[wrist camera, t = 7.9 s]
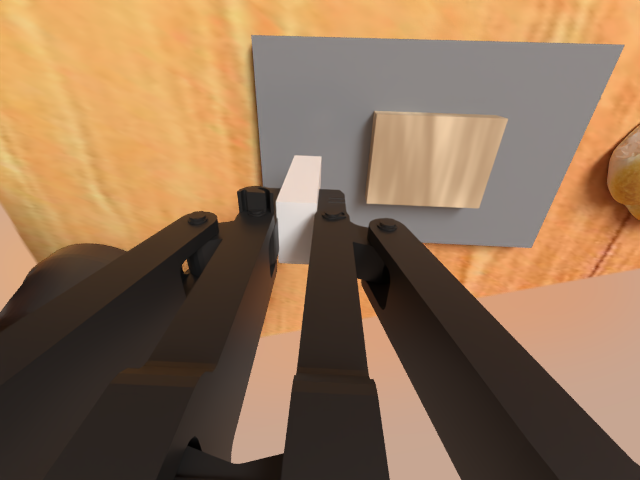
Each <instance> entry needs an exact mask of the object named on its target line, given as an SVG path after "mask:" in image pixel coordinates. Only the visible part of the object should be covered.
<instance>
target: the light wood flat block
mask: <svg viewBox="0 0 640 480" xmlns="http://www.w3.org/2000/svg"><path fill="white" fill-rule="evenodd" d="M507 121H508V119H507V118H504V117H501V116H498V115H480V114H451V113H421V112H392V111H374V117H373V126H372V136H371V145H370V154H369V163H368V172H367V181H366V191H365V198H366V203H367V204H389V205H412V206H434V207H457V208H479V207H480V204H481V201H482V198H483V195H484V191H485V188H486V185H487V182H488V179H489V176H490V173H491V170H492V167H493V164H494V161H495V158H496V155H497V152H498V149H499V146H500V142H501V139H502V136H503V133H504V130H505V127H506V124H507Z"/></svg>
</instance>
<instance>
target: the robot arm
mask: <svg viewBox="0 0 640 480" xmlns="http://www.w3.org/2000/svg"><path fill="white" fill-rule="evenodd" d="M320 186H321V156H300V155H295V156H294V158H293V161H292V163H291V166H290V168H289V170H288V173H287V175H286V178H285V180H284V183H283V185H282V188H267V187H263V186H251V187H245V188H242V189H240V190H239V191H237V195H238V203H239V214H238V215H237V217H236V219H235V220H234V221H230V222H222V223H218V220H217V216H216V215H215V214H214V213H210V212H204V211H199V212H198V211H197V212H193V213H191V214H187V215H185V216H183V217H181V218H180V219H178V220H177V221H175V222H173V223H172V224H170V225H169V226H167V227H166V228H164V229H162V230H161V231H159V232H158V233H156V234H154V235H153V236H151V237H150V238H148V239H147V240H145V241H143V242H142V243H140V244H139V245H137V246H136V247H134V248H132V249H131V250H129V251H128V252H126V251H124V250H121V249H118V248H114V247H110V246H106V245H100V244H75V245H70V246H67V247H64V248H62V249H60V250H58V251H56V252H55V253H53V254H52V255H50V256H49V257H47V258H46V259H44V260H43V261H41V262H40V263H38V264H37V265H36V266H35V267H34V268H32V269H31V271H30V272H29V274H28V275H27V276H26V278H25V280H24V282H23V284H22V285H21V286H20V288H19V289H18V290H17V292H16V293H15V294H14V295H13V297H12V298H11V299H10V300H9V301H8V303H7V304H6V305H5V307H4V308H3V309H2V311H1V312H0V480H390V479H389V471H388V465H387V457H386V450H385V443H384V436H383V429H382V422H381V415H380V408H379V400H378V394H377V389H376V384H375V382H374V380H373V379H370V378H369V374H368V367H367V358H366V350H365V342H364V333H363V326H362V317H361V308H360V300H359V292H358V283H357V278H358V279H362V280H361V283H362V287H363V289H364V291H365V293H366V295H367V297H368V299H369V301H370V303H371V305H372V307H373V308H374V310H375V312H376V314H377V316H378V318H379V320H380V322H381V324H382V326H383V328H384V330H385V332H386V334H387V336H388V338H389V340H390V342H391V344H392V346H393V347H394V349H395V351H396V353H397V355H398V357H399V359H400V361H401V363H402V365H403V367H404V369H405V371H406V373H407V375H408V377H409V379H410V381H411V383H412V385H413V386H414V388H415V390H416V392H417V394H418V396H419V398H420V400H421V402H422V404H423V406H424V408H425V410H426V412H427V413H428V416H429V418H430V419H431V422H432V424H433V425H434V427H435V429H436V431H437V433H438V435H439V437H440V439H441V441H442V443H443V445H444V447H445V449H446V451H447V453H448V455H449V457H450V458H451V461H452V463H453V464H454V466H455V468H456V470H457V472H458V474H459V476H460V478H461V480H640V466H639V465H638V464H636V463H635V462H634V461H633V460H632V459H631V458H630V457H629V456H628V455H627V454H626V453H625V452H624V451H623V450H622V449H621V448H620V447H619V446H618V445H617V444H616V443H615V442H614V441H613V440H612V439H611V438H610V436H609V435H607V433H606V432H605V431H604V430H603V429H602V428H601V427H600V426H599V425H598V424H597V423H596V422H595V421H594V420H593V419H592V418H591V417H590V416H589V415H588V414H587V413H586V412H585V411H584V410H583V409H582V408H581V407H580V406H579V405H578V404H577V403H576V401H574V399H573V398H572V397H571V396H570V395H569V394H568V393H567V392H566V391H565V390H564V389H563V388H562V387H561V386H560V385H559V384H558V383H557V382H556V381H555V380H554V379H553V378H552V377H551V376H550V375H549V374H548V373H547V372H546V371H545V369H543V367H542V366H541V365H540V364H539V363H538V362H537V361H536V360H535V359H534V358H533V357H532V356H531V355H530V354H529V353H528V352H527V351H526V350H525V349H524V348H523V347H522V346H521V345H520V344H519V343H518V342H517V341H516V340H515V339H514V338H513V337H512V336H511V334H510V333H508V331H507V330H506V329H505V328H504V327H503V326H502V325H501V324H500V323H499V322H498V321H497V320H496V319H495V318H494V317H493V316H492V315H491V314H490V313H489V312H488V311H487V310H486V309H485V308H484V307H483V306H482V305H481V304H480V303H479V301H478V300H477V299H476V298H475V297H474V296H473V295H472V294H471V293H470V292H469V291H468V290H467V289H466V288H465V287H464V286H463V285H462V284H461V283H460V282H459V281H458V280H457V279H456V278H455V277H454V276H453V275H452V274H451V273H450V272H449V271H448V269H447V268H446V267H445V266H444V265H443V264H442V263H441V262H440V261H439V260H438V259H437V258H436V257H435V256H434V255H433V254H432V253H431V252H430V251H429V250H428V249H427V248H426V247H425V246H424V245H423V244H422V243H421V242H420V241H419V240H418V239H417V238H416V236H415V235H414V234H413V233H412V232H411V231H410V230H409V229H408V228H407V227H406V226H405V225H404V224H402V223H401V222H399V221H396V220H394V219H391V218H390V219H389V218H379V219H374V220H372V221H370V223H369V226H368V227H363V226H359V225H356V224H354V223H352V222H350V217H349V215H348V213H347V212H346V203H345V194H344V193H343V192H342V191H340V190H331V189H320ZM277 256H278V257H279V263H291V264H309V269H308V277H307V286H306V295H305V304H304V312H303V321H302V330H301V339H300V349H299V357H298V365H297V373H296V375H294V379H293V385H292V392H291V401H290V409H289V417H288V425H287V433H286V441H285V449H284V453H283V454H279V455H275V456H271V457H267V458H263V459H259V460H255V461H251V462H246V463H242V464H233V463H231V451H232V444H233V439H234V435H235V431H236V427H237V424H238V420H239V416H240V412H241V408H242V404H243V400H244V396H245V392H246V389H247V385H248V381H249V377H250V373H251V369H252V365H253V361H254V358H255V354H256V350H257V346H258V342H259V338H260V334H261V331H262V327H263V323H264V319H265V315H266V311H267V307H268V303H269V300H270V296H271V292H272V288H273V284H274V280H275V276H276V272H277ZM186 259H187V262H188V266H189V269H188V270H187V271H186V272H183V270H182V264H183V263H184V261H185V260H186Z"/></svg>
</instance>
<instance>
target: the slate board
mask: <svg viewBox="0 0 640 480" xmlns="http://www.w3.org/2000/svg"><path fill="white" fill-rule="evenodd" d="M251 36H252V49H253V62H254V75H255V88H256V101H257V114H258V127H259V140H260V153H261V166H262V179H263V187H267V188H282V185H283V183H284V180H285V178H286V175H287V173H288V170H289V168H290V166H291V163H292V161H293V158H294V156H295V155H300V156H321V186H320V189H331V190H340V191H342V192H343V193H344V194H345V203H346V212H347V213H348V215H349V217H350V222H352V223H354V224H356V225H359V226H363V227H368V226H369V223H370V221H372V220H374V219H379V218H389V219H390V218H391V219H394V220H396V221H399V222H401V223H402V224H404V225H405V226H406V227H407V228H408V229H409V230H410V231H411V232H412V233H413V234H414V235H415V236H416V238H417V239H418V240H419V241H420V242H421V243H441V244H462V245H482V246H503V247H524V248H532V245H533V243H534V241H535V239H536V237H537V235H538V232H539V230H540V228H541V226H542V224H543V222H544V219H545V217H546V215H547V213H548V211H549V208H550V206H551V204H552V202H553V200H554V198H555V195H556V193H557V191H558V189H559V187H560V185H561V182H562V180H563V178H564V176H565V174H566V171H567V169H568V167H569V165H570V163H571V161H572V158H573V156H574V154H575V152H576V150H577V148H578V145H579V143H580V141H581V139H582V137H583V135H584V132H585V130H586V128H587V126H588V124H589V121H590V119H591V117H592V115H593V113H594V111H595V108H596V106H597V104H598V102H599V100H600V98H601V95H602V93H603V91H604V89H605V87H606V85H607V82H608V80H609V78H610V76H611V74H612V71H613V69H614V67H615V65H616V63H617V61H618V58H619V56H620V54H621V52H622V50H623V48H624V45H612V44H573V43H534V42H495V41H456V40H417V39H378V38H340V37H301V36H262V35H251ZM374 111H392V112H421V113H451V114H480V115H498V116H501V117H504V118H507V119H508V121H507V124H506V127H505V130H504V133H503V136H502V139H501V142H500V146H499V149H498V152H497V155H496V158H495V161H494V164H493V167H492V170H491V173H490V176H489V179H488V182H487V185H486V188H485V191H484V195H483V198H482V201H481V204H480V207H479V208H457V207H434V206H412V205H389V204H367V203H366V198H365V191H366V181H367V172H368V163H369V154H370V145H371V136H372V126H373V117H374Z"/></svg>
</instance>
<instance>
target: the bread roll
mask: <svg viewBox="0 0 640 480" xmlns="http://www.w3.org/2000/svg"><path fill="white" fill-rule="evenodd" d="M607 185H608V189H609V191H610V193H611V195H612V197H613V199H614V200H616V201H617V202H619V203H621V204H624V205H625V206H626V207H627V208H628V210H629V212H630V213H631V214H632V215H633V216H634V217H635V218H636V219H638V220H639V221H640V125H639V126H638V127H636V128H635V129H634V130H633V131H632V132H631V133H630V134H629V135H628V136H627V137H626V138H625V139H624V140H623V141H622V142H621V143H620V144H619V145H618V146H617V147H616V149H615V150H614V152H613V153H612V156H611V158H610V161H609V169H608V177H607Z"/></svg>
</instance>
